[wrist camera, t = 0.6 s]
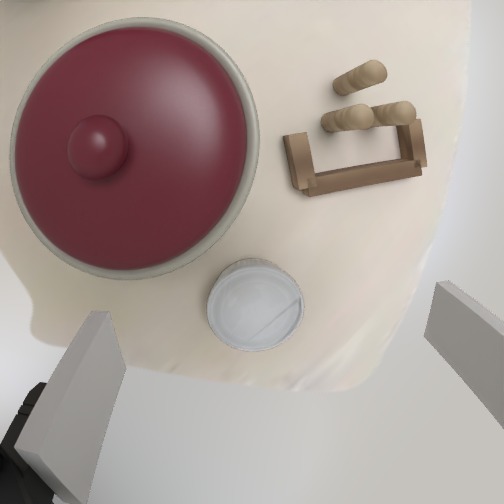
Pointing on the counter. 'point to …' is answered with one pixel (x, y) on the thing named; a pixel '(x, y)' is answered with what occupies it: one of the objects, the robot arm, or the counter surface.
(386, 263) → the counter surface
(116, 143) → the canister
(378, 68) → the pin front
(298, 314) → the ramekin
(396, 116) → the pin
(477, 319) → the robot arm
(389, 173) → the rail
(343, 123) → the pin
